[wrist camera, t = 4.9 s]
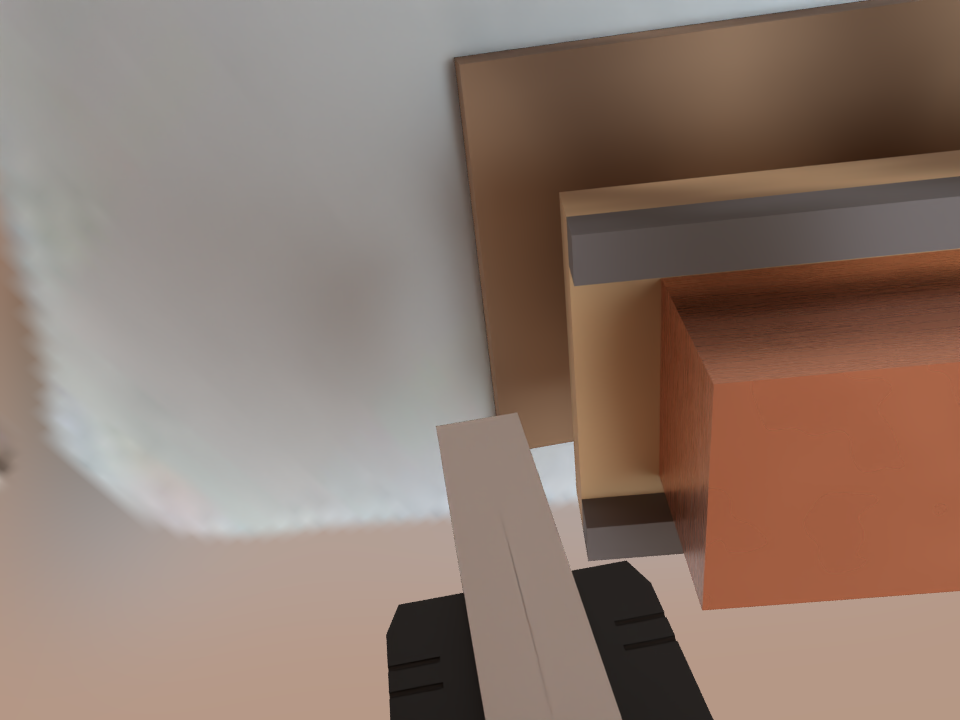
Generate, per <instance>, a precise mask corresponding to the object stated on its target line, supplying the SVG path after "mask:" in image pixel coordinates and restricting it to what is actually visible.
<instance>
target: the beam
mask: <svg viewBox="0 0 960 720" xmlns="http://www.w3.org/2000/svg"><path fill="white" fill-rule="evenodd" d="M559 198H560V215H561V232H562V249H563V266H564V283H565V300H566V317H567V335H568V352H569V369H570V386H571V403H572V420H573V437H574V454H575V472H576V489H577V496H578V502H579V508H580V514H581V520H582V526H583V532H584V538H585V544H586V549H587V555H588V561H595V560H607V559H620V558H632V557H644V556H658V555H670V554H683V553H684V552H683V549H682V545H681V542H680V539H679V536H678V533H677V530H676V527H675V523H674V520H673V517H672V514H671V511H670V508H669V505H668V502H667V498H666V495H665V492H664V489H663V486H662V483H661V480H660V477H659V447H660V349H661V278H672V277H682V276H692V275H702V274H712V273H722V272H732V271H743V270H753V269H763V268H773V267H783V266H793V265H804V264H814V263H824V262H834V261H844V260H854V259H864V258H875V257H885V256H895V255H905V254H915V253H925V252H935V251H946V250H956V249H960V150H956V151H947V152H937V153H928V154H918V155H909V156H899V157H890V158H880V159H871V160H861V161H852V162H842V163H833V164H823V165H814V166H804V167H795V168H785V169H776V170H766V171H757V172H747V173H738V174H728V175H719V176H709V177H700V178H690V179H681V180H671V181H662V182H652V183H643V184H633V185H624V186H614V187H605V188H595V189H586V190H576V191H567V192H559Z"/></svg>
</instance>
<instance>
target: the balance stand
mask: <svg viewBox="0 0 960 720" xmlns="http://www.w3.org/2000/svg"><path fill="white" fill-rule="evenodd" d="M454 61H455V70H456V78H457V87H458V95H459V104H460V112H461V121H462V129H463V138H464V146H465V155H466V163H467V172H468V180H469V189H470V197H471V206H472V214H473V223H474V231H475V240H476V248H477V257H478V265H479V273H480V282H481V290H482V299H483V307H484V316H485V324H486V333H487V341H488V350H489V358H490V367H491V375H492V384H493V392H494V401H495V409H496V416H499V415H505V414H511V413H518V416H519V419H520V422H521V425H522V428H523V431H524V434H525V437H526V439H527V442H528V445H529V448H530V449H532V448H538V447H543V446H549V445H555V444H560V443H566V442H572V441H574V437H573V420H572V403H571V386H570V369H569V352H568V335H567V317H566V300H565V283H564V266H563V249H562V232H561V215H560V198H559V192H567V191H576V190H586V189H595V188H605V187H614V186H624V185H633V184H643V183H652V182H662V181H671V180H681V179H690V178H700V177H709V176H719V175H728V174H738V173H747V172H757V171H766V170H776V169H785V168H795V167H804V166H814V165H823V164H833V163H842V162H852V161H861V160H871V159H880V158H890V157H899V156H909V155H918V154H928V153H937V152H947V151H956V150H960V0H867V1H860V2H853V3H846V4H838V5H831V6H824V7H817V8H810V9H802V10H795V11H788V12H781V13H773V14H766V15H759V16H752V17H745V18H737V19H730V20H723V21H716V22H708V23H701V24H694V25H687V26H680V27H672V28H665V29H658V30H651V31H643V32H636V33H629V34H622V35H614V36H607V37H600V38H593V39H586V40H578V41H571V42H564V43H557V44H549V45H542V46H535V47H528V48H521V49H513V50H506V51H499V52H492V53H484V54H477V55H470V56H463V57H455V58H454Z"/></svg>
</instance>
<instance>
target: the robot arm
mask: <svg viewBox="0 0 960 720" xmlns="http://www.w3.org/2000/svg"><path fill="white" fill-rule="evenodd" d="M436 429H437V435H438V441H439V447H440V453H441V460H442V466H443V472H444V478H445V485H446V491H447V497H448V503H449V509H450V516H451V522H452V528H453V534H454V540H455V546H456V552H457V558H458V564H459V570H460V576H461V582H462V588H463V593H460V594H455V595H449V596H444V597H438V598H433V599H428V600H423V601H417V602H412V603H406V604H401V605H399V606H398V608H397V610H396V613H395V615H394V617H393V620H392V622H391V625H390V627H389V630H388V632H387V635H386V638H387V659H388V669H389V673H388V678H389V694H390V720H713V718H712V716H711V714H710V711H709V709H708V707H707V705H706V703H705V701H704V698H703V696H702V694H701V692H700V689H699V687H698V685H697V683H696V681H695V679H694V676H693V674H692V672H691V670H690V668H689V665H688V663H687V661H686V659H685V657H684V654H683V652H682V650H681V648H680V646H679V644H678V642H677V641H676V639H675V635H674V633H673V630H672V628H671V626H670V624H669V622H668V619H667V618H666V617H665V615H664V611H663V609H662V606H661V604H660V602H659V600H658V598H657V595H656V593H655V591H654V589H653V587H652V584H651V583H650V582H649V581H648V580H647V579H646V578H645V577H644V576H643V575H642V574H640V573H639V572H638V571H637V570H636V569H635V568H634V567H633V566H631V564H630V563H628V562H627V561H622V562H616V563H611V564H606V565H600V566H596V567H589V568H584V569H579V570H574V571H571V569H570V566H569V562H568V560H567V557H566V554H565V551H564V548H563V545H562V542H561V539H560V536H559V533H558V530H557V527H556V524H555V522H554V519H553V516H552V513H551V510H550V507H549V504H548V501H547V498H546V495H545V492H544V489H543V486H542V483H541V480H540V478H539V475H538V472H537V469H536V466H535V463H534V460H533V457H532V454H531V451H530V448H529V445H528V442H527V439H526V437H525V434H524V431H523V428H522V425H521V422H520V419H519V416H518V413H511V414H505V415H499V416H493V417H488V418H482V419H476V420H470V421H464V422H458V423H452V424H446V425H440V426H436Z"/></svg>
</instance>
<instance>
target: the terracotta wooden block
mask: <svg viewBox="0 0 960 720" xmlns="http://www.w3.org/2000/svg"><path fill="white" fill-rule="evenodd" d="M659 477H660V480H661V483H662V486H663V489H664V492H665V495H666V498H667V502H668V505H669V508H670V511H671V514H672V517H673V520H674V523H675V527H676V530H677V533H678V536H679V539H680V542H681V545H682V549H683V552H684V555H685V558H686V561H687V564H688V567H689V570H690V574H691V577H692V580H693V583H694V585H695V589H696V592H697V595H698V599H699V602H700V605H701V608H702V610H712V609H713V610H714V609H726V608H740V607H753V606H767V605H779V604H793V603H806V602H819V601H831V600H832V601H833V600H846V599H859V598H873V597H886V596H899V595H912V594H926V593H939V592H951V591H960V249H956V250H946V251H935V252H925V253H915V254H905V255H895V256H885V257H875V258H864V259H854V260H844V261H834V262H824V263H814V264H804V265H793V266H783V267H773V268H763V269H753V270H743V271H732V272H722V273H712V274H702V275H692V276H682V277H672V278H661V349H660V447H659Z"/></svg>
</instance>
